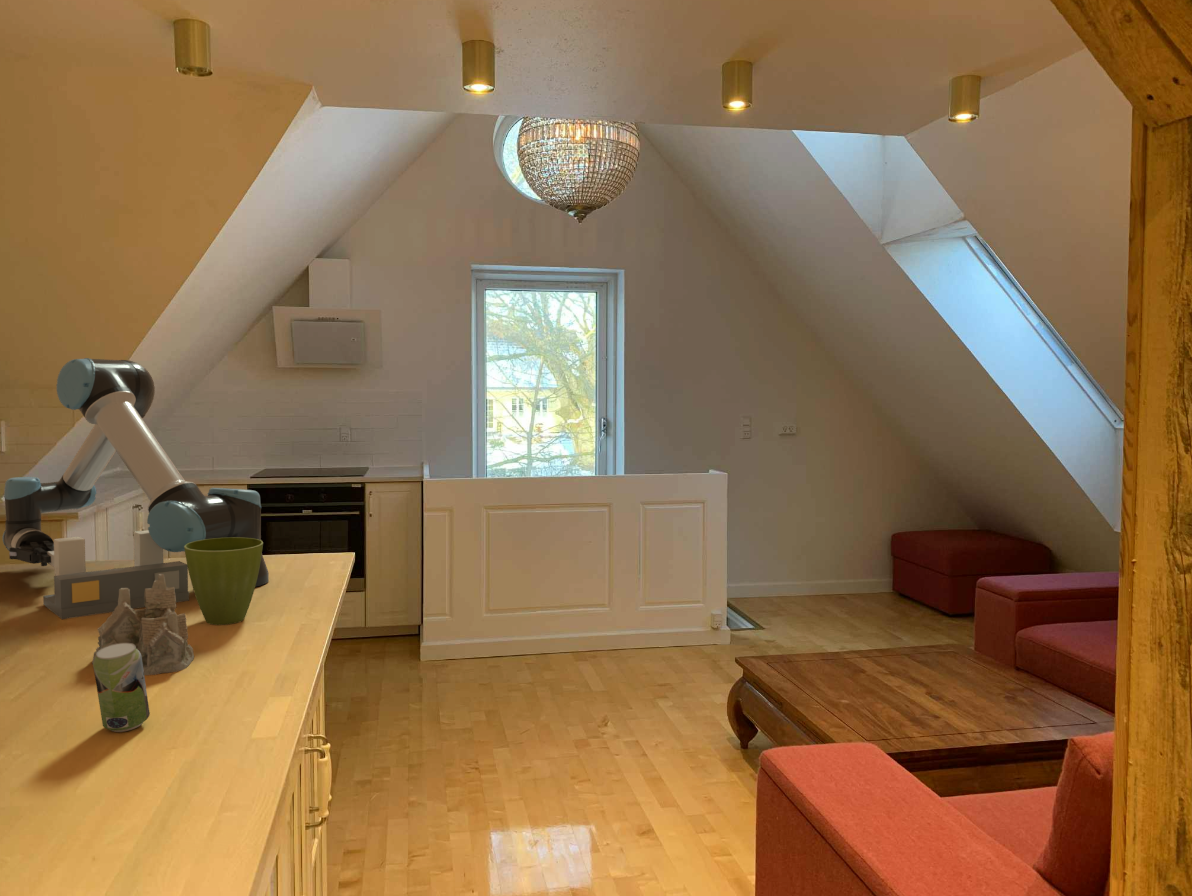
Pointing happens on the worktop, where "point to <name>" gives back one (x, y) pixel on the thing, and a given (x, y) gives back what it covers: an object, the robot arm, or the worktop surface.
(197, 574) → the flower pot
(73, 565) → the key
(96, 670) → the beverage can
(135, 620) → the ceramic cottage
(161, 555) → the key
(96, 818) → the worktop surface
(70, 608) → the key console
